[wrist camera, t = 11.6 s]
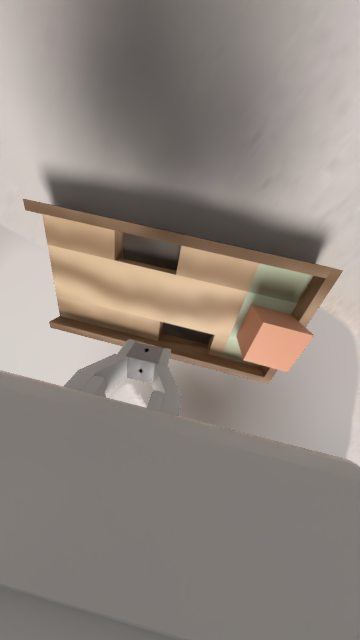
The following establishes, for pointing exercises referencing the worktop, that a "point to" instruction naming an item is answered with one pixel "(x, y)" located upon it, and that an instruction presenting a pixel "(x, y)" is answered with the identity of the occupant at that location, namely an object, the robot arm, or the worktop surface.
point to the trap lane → (171, 287)
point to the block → (272, 338)
